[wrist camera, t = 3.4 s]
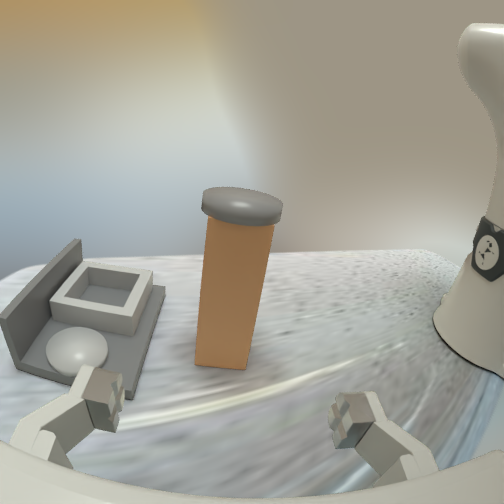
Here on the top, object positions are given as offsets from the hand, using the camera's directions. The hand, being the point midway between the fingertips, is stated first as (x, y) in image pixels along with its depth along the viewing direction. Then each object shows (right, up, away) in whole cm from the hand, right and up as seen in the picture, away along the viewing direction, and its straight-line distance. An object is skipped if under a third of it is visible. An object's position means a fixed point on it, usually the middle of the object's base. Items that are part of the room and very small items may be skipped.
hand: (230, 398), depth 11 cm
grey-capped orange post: (-2, -3, +15) cm, 15 cm away
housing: (-13, -1, +14) cm, 19 cm away
